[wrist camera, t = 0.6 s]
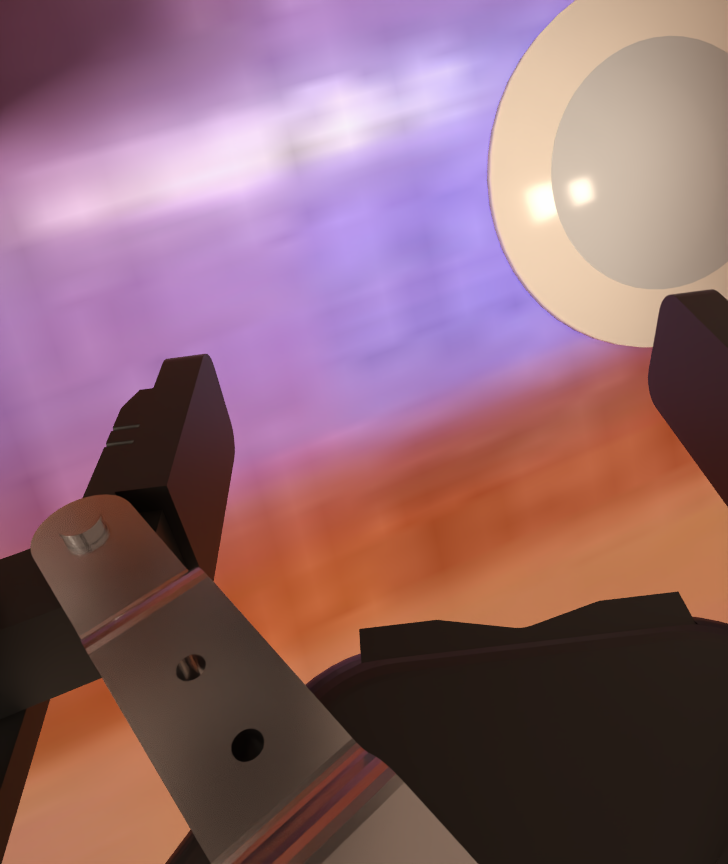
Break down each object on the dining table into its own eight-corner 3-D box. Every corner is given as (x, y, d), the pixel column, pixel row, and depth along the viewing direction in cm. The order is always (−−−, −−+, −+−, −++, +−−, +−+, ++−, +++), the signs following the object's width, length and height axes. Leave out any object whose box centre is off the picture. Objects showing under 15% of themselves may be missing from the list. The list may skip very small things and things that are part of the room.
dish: (440, 42, 31) (445, 34, 30) (781, -74, 32) (795, -85, 31) (542, 393, 35) (548, 395, 34) (841, 281, 36) (855, 280, 35)
